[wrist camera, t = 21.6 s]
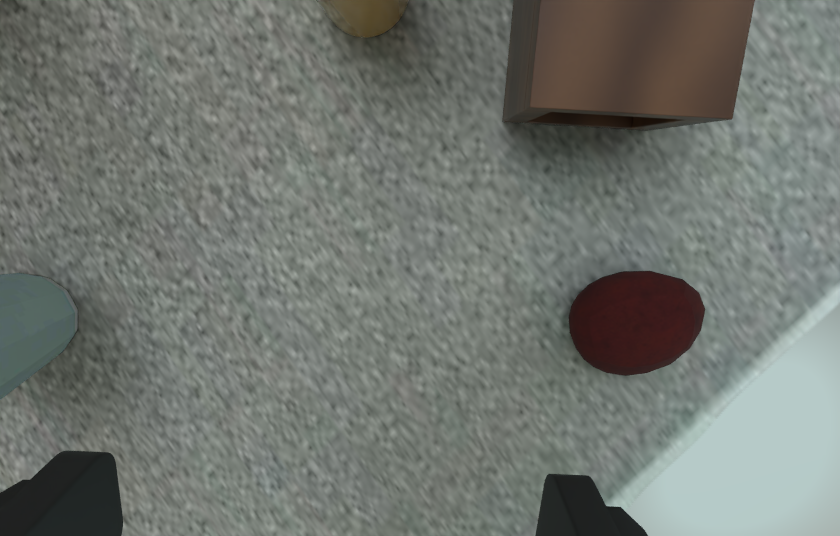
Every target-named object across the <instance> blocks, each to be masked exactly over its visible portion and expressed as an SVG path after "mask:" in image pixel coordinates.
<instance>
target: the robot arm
mask: <svg viewBox="0 0 840 536" xmlns="http://www.w3.org/2000/svg"><path fill="white" fill-rule="evenodd" d="M122 528H123V516H122V508H121V501H120V493H119V485H118V477H117V469H116V462H115V459H114V457H113V455H112V454H111V453H108V452H87V451H63V452H61V453H59V454H57V455H56V456H55V457H54V458H53V459H52V460H51V461H50V462H49V463H48V464H46V465H45V466H44V467H43V468H42V469H41V470H40V471H39V472H38V473H37V474H36V475H35V476H34V477H33V478H32V479H31V480H22V481H20V482H18V483H17V484H15V485H13V486H12V487H10V488H8V489H6V490H5V491H3V492H1V493H0V536H121V534H122ZM536 536H648V535H647V534H646V532H645V530H644V529H643V528H642V527H641V526H640V525H639V524H638V523H637V522H636V521H635V520H633V519H632V518H631V517H630V516H629V515H628V514H627V513H626V512H625V511H624V510H623V509H622V508H621V507H610V506H606V505H605V503H604V501H603V499H602V497H601V495H600V493H599V491H598V489H597V487H596V485H595V483H594V482H593V480H592V479H591V477H589V476H585V475H563V474H548V475H547V477H546V479H545V483H544V488H543V494H542V500H541V506H540V512H539V518H538V524H537V530H536Z"/></svg>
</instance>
